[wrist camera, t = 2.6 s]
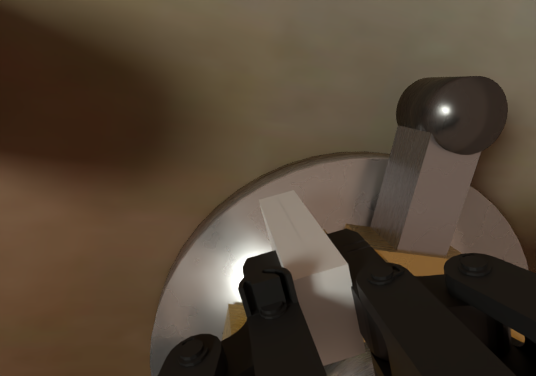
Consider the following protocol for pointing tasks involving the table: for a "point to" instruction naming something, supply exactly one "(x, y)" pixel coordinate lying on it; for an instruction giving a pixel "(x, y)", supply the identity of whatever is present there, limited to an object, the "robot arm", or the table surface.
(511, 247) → the cap base
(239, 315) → the ring nut
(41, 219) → the table surface
